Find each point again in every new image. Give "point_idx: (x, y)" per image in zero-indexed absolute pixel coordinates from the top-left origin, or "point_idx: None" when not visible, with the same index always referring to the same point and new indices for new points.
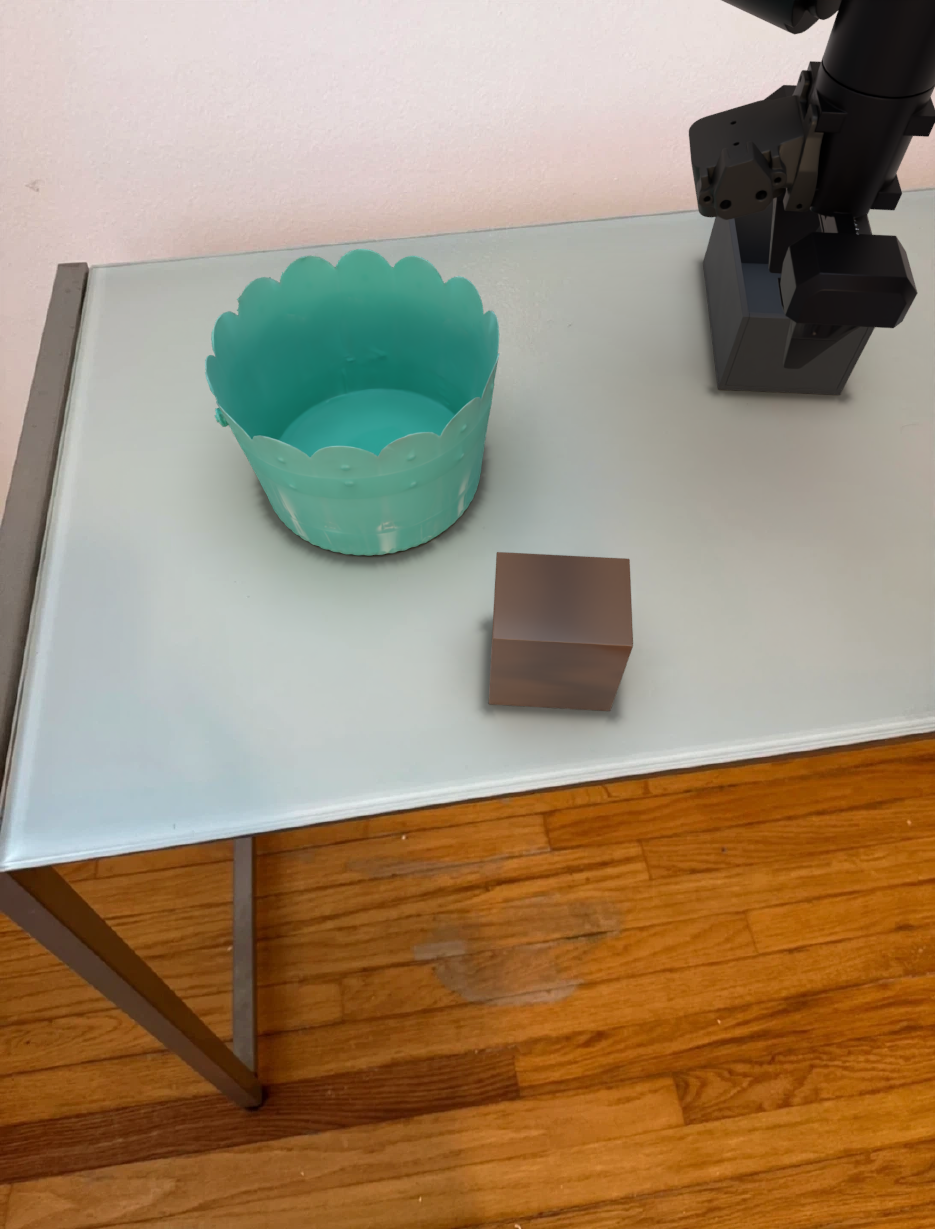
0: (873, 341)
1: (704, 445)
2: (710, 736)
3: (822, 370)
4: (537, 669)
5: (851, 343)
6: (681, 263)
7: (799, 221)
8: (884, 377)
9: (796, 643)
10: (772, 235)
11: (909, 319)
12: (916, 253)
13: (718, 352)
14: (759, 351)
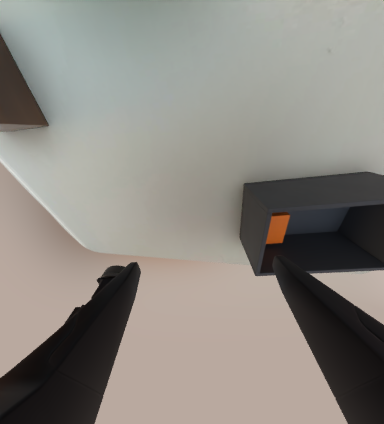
0: None
1: (199, 176)
2: (30, 183)
3: (245, 237)
4: None
5: (250, 257)
6: (373, 156)
7: (323, 338)
8: None
9: (96, 216)
10: (316, 291)
11: None
12: None
13: (270, 184)
14: (253, 211)
